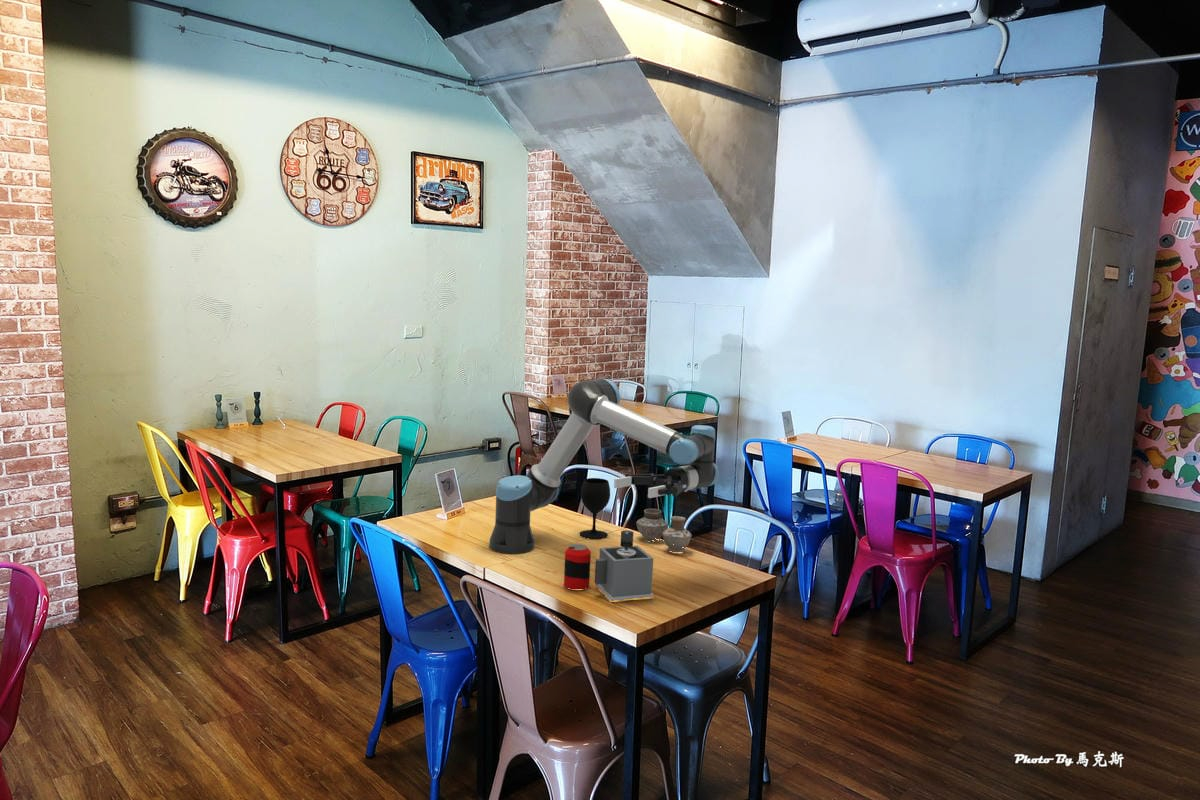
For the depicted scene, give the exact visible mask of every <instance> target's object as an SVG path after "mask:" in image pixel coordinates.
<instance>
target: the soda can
mask: <svg viewBox="0 0 1200 800" xmlns="http://www.w3.org/2000/svg"><path fill="white" fill-rule="evenodd" d="M591 555H592V552H591V550H590V549H589V547H588V546H587V545H585V544H581V543H577V544H570V545H569V546H568V547H567V548H566V549H565V550H564V571H563V573H564V575H563V586H564V587H566V588H565V589H567V588H570V589H585V588H587V589H589V587H590V577H591V561H592V560H591V559H592V558H591ZM585 590H586V589H585Z"/></svg>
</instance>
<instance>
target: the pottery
mask: <svg viewBox="0 0 1200 800" xmlns="http://www.w3.org/2000/svg"><path fill="white" fill-rule="evenodd" d="M643 513H644V514H643V517H641V518H639V519H638V520H637V521H636V527H637V530H638V532H639V534H640V535H641V534H642V535H641V536H642V537H643V538H642V539H644V540H646V541H645V542H647V541H650V542H649V543H654V542H653V541H652V540H654V541H658V540H656V539H659V540H660V539H661V537H662V538H663V542H664V544H665V545H666V546H667V548H668V549H667V551H668V550H669V551H672V552H684V553H685V549H686V548H687V547H688V546H689V544H690V541H691V539H692V537H693V535H692V533H691V532H690V531H689V530H687V529H686V528H685V523H686V517H684V516H677V515H674V516H671V517H670V521H671V523H670V524H671V527H669V523H668V521H667V520H666V519H665V520H664V519H663V518H662V510H661V509H658V508H646V509H644V510H643ZM655 538H656V539H655ZM644 540H643V541H644ZM673 544H674V545H673ZM682 547H684V548H682Z"/></svg>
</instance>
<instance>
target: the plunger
mask: <svg viewBox="0 0 1200 800" xmlns="http://www.w3.org/2000/svg"><path fill="white" fill-rule="evenodd" d="M632 546H634V531H633V530H629V529H628V530H627V529H625V530H624V529H623V530H621V531H620V547H624V548H623V549H618V550H617V553H616V554H617V555H618V556H621V557H624V558H623V559H628V557H634V556H635V555H636V551H635V550H632V549H629V547H632Z"/></svg>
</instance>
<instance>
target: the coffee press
mask: <svg viewBox="0 0 1200 800" xmlns="http://www.w3.org/2000/svg"><path fill="white" fill-rule="evenodd" d="M623 548H624V547H622V546H610V547H609V546H608V547H599V554H598V556H599V557H598V558H596V559H595V563H594V564H595V568H594V584H595V587H596V586H597V587H598V588H599V589H600V590H601V591H602V592H603V593H604V594H605V595H606V596H607V598H609V599H610V600H611V601H614V600H624V599H633V598H644V597H653V598H654V596H655V595H654V593H653V592H652V589H653V587H652V586H653V575H654V574H653V570H654V558H653V557H652V556H651V555H650V554H649V553H647V552H646V551H645V550H644V549H642V547H640V546H638V545H633V546H632V547H629V549H632V550H635V551H636V555H635V556H634V557H628V559H623V558H624V557H621V556H618V555H617V554H616V553H617V550H618V549H623ZM607 598H606V599H607Z"/></svg>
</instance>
